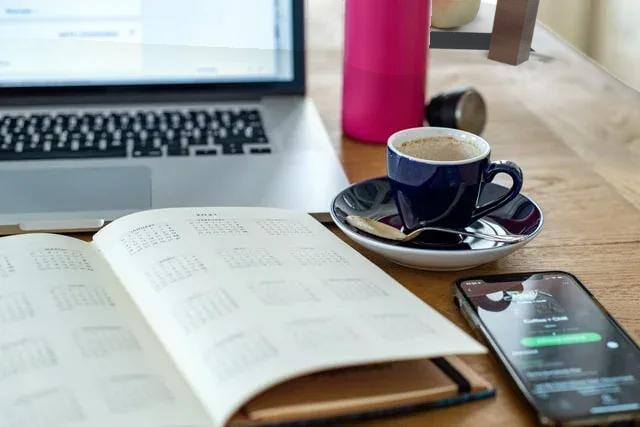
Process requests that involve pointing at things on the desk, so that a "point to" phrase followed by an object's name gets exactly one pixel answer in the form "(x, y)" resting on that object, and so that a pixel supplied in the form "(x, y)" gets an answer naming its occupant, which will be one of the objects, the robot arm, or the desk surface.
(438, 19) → the apple
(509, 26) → the shelf stand
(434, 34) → the mat
